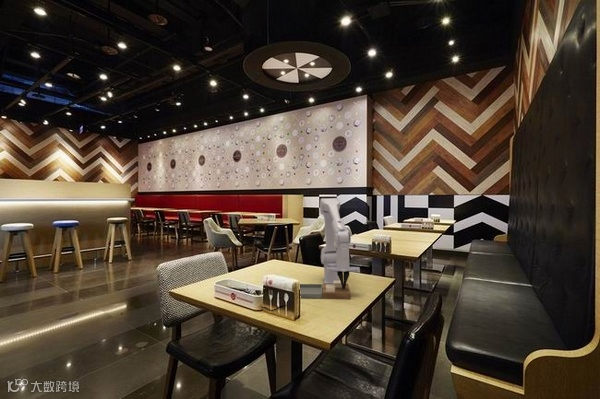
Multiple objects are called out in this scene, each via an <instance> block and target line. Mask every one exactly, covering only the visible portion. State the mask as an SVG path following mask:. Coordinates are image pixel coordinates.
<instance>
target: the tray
mask: <svg viewBox="0 0 600 399" xmlns="http://www.w3.org/2000/svg"><path fill="white" fill-rule="evenodd" d="M299 284H300V291H301V294H300V296H301V300H302V299H305V300H306V299H307V300H308V299H309V300H310V299H312V300H323V295H322V293H323V283H299Z"/></svg>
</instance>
